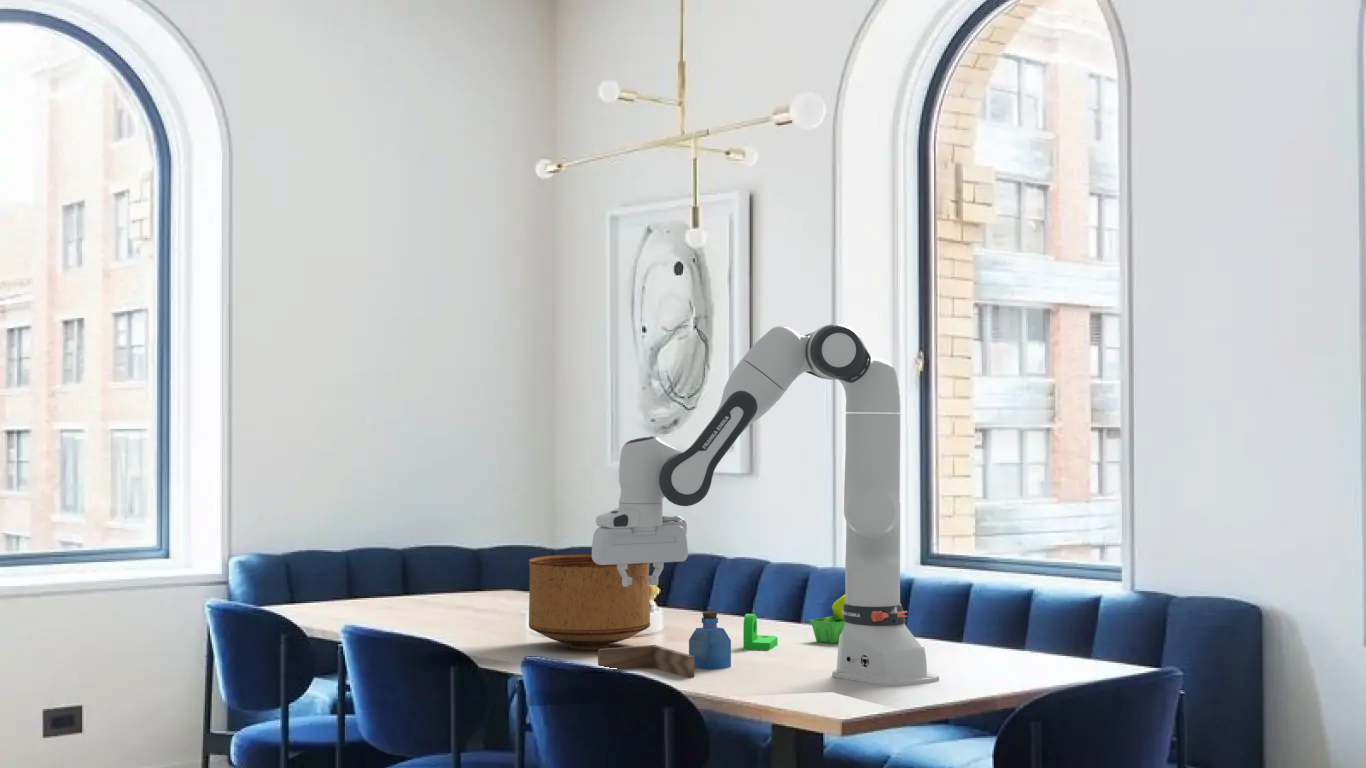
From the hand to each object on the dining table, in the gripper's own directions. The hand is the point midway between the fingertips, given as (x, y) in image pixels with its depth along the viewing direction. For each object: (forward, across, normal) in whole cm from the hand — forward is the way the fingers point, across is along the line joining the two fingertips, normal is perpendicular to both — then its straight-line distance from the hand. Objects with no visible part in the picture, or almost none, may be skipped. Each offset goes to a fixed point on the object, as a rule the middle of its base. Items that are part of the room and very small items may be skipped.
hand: (640, 585), depth 338 cm
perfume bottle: (+19, -18, -4) cm, 26 cm away
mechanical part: (+19, -44, -28) cm, 55 cm away
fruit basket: (+19, -65, -28) cm, 73 cm away
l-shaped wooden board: (+19, -2, -1) cm, 19 cm away
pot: (+19, -9, -45) cm, 50 cm away
